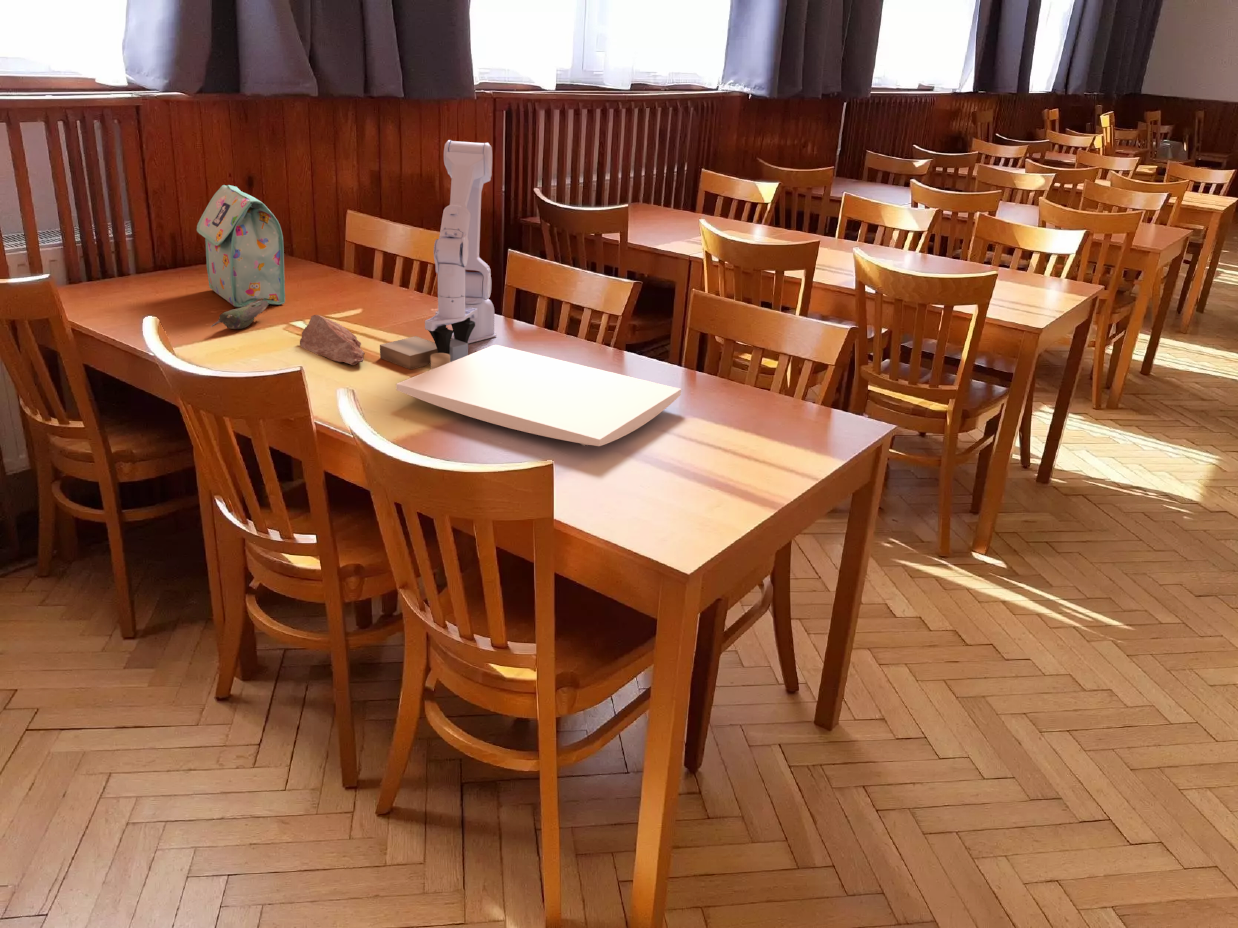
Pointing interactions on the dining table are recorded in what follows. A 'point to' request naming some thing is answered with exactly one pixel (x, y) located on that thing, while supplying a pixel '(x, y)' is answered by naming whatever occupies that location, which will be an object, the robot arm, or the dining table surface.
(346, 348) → the rock
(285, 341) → the dining table surface
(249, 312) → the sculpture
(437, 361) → the beech cylinder
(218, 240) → the lunch bag
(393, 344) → the walnut base
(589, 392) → the board
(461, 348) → the grey cube
